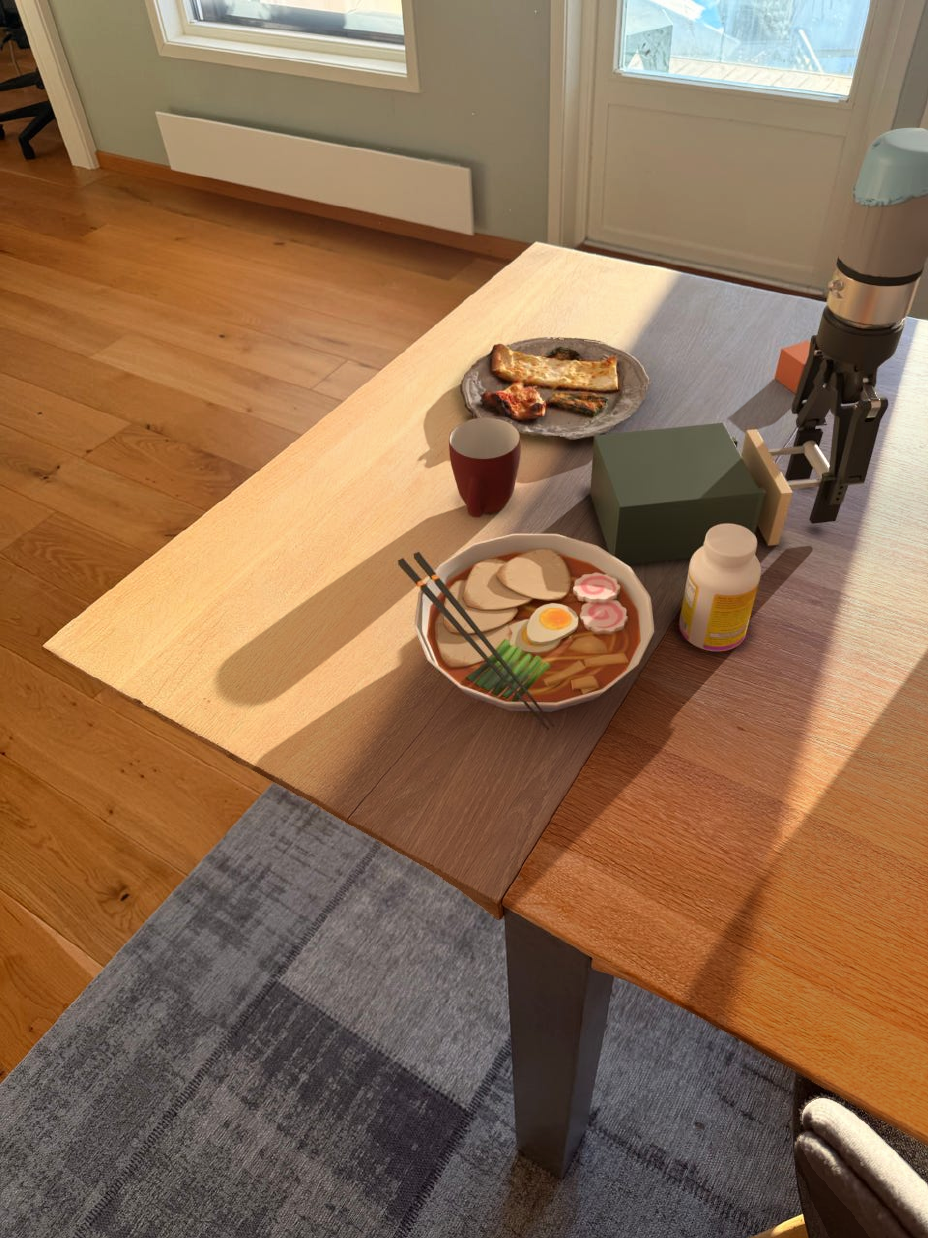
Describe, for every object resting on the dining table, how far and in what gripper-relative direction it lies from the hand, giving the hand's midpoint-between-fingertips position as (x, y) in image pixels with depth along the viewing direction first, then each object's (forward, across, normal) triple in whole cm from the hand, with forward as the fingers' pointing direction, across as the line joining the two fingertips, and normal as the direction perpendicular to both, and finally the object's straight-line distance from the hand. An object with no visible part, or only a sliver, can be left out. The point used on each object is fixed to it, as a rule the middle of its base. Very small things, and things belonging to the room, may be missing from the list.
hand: (809, 498), depth 103 cm
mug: (+3, -6, -37) cm, 37 cm away
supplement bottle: (+2, +17, -16) cm, 23 cm away
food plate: (+3, -29, -24) cm, 38 cm away
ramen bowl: (+2, +18, -35) cm, 39 cm away
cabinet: (+2, 0, -17) cm, 17 cm away
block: (+2, -27, +9) cm, 28 cm away
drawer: (+1, 0, -9) cm, 9 cm away
